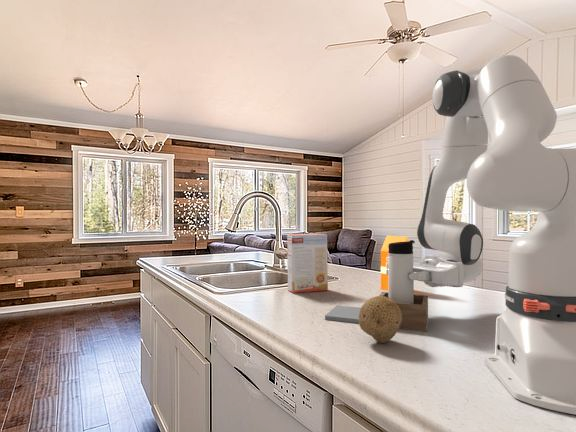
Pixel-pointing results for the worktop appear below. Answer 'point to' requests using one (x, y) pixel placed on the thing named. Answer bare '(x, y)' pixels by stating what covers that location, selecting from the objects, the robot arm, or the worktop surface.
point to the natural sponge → (380, 318)
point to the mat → (344, 314)
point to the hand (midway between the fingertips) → (398, 274)
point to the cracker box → (307, 262)
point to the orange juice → (385, 258)
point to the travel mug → (400, 272)
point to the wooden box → (413, 313)
